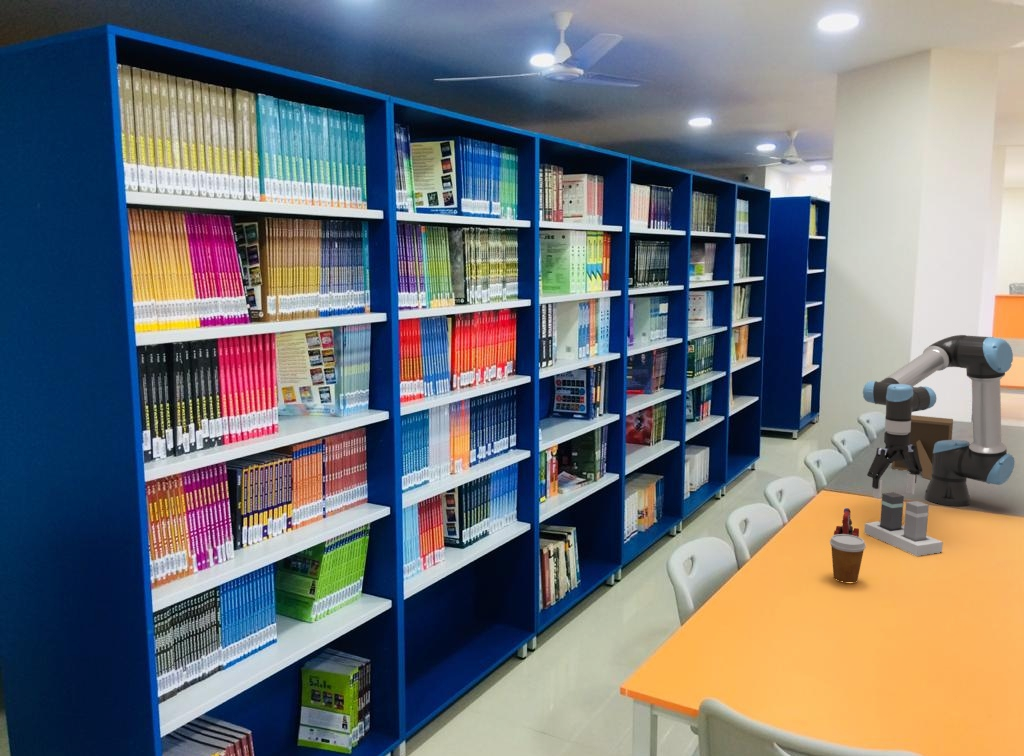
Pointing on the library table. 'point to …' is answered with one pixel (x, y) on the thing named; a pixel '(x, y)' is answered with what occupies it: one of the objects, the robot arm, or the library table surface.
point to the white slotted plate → (903, 540)
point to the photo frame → (926, 440)
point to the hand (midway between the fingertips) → (893, 495)
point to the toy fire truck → (846, 525)
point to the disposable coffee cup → (846, 556)
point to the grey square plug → (916, 521)
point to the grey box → (891, 511)
